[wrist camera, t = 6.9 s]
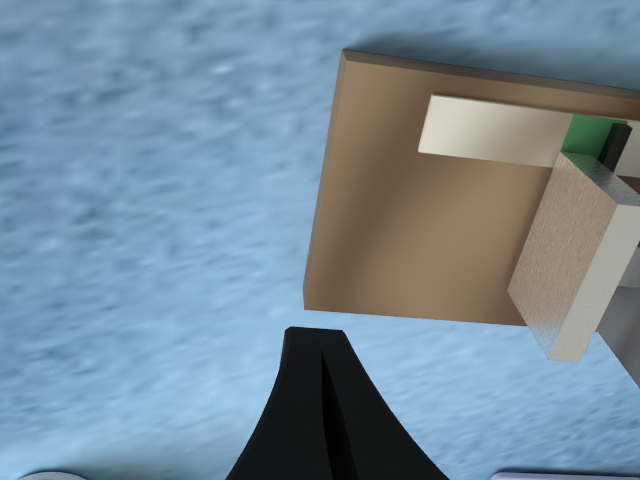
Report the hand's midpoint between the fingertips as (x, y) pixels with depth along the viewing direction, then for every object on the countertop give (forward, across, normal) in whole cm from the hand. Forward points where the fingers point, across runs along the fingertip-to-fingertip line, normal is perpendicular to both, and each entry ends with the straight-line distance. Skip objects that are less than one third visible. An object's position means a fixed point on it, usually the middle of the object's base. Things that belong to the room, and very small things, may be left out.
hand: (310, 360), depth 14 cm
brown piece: (+10, -11, 0) cm, 15 cm away
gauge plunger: (+8, -14, -1) cm, 16 cm away
